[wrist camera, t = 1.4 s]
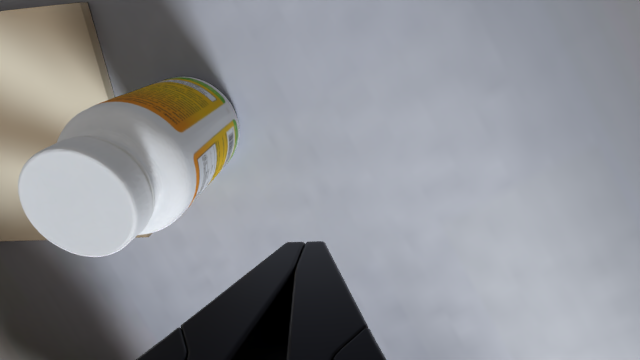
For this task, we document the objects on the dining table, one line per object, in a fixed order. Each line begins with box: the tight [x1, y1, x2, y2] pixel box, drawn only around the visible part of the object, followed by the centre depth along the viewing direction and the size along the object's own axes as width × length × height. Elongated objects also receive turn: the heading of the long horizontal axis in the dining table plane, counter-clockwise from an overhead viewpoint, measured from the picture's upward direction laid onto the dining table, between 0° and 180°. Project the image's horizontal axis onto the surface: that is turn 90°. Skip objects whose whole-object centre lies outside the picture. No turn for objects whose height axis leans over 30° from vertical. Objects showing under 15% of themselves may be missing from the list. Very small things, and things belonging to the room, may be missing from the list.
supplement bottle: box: [18, 77, 239, 257], centre depth 17 cm, size 5×5×10 cm
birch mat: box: [0, 2, 152, 241], centre depth 23 cm, size 13×12×1 cm
